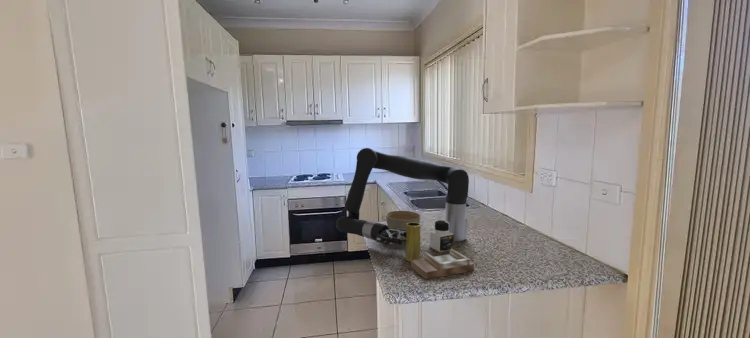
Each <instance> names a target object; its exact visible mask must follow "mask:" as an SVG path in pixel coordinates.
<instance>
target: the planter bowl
mask: <svg viewBox="0 0 750 338" xmlns="http://www.w3.org/2000/svg"><path fill="white" fill-rule="evenodd" d="M385 218H386V219H385V220H386V225H387V226H388V228H389V229H394V230H395V228H401V229H406V230H407V223H410V222H415V223H419V224H420V223H421V221H420V220H421V214H419V213H417V212H415V211H411V210H392V211H389V212H386V213H385ZM397 236H399V235H398V234H397ZM400 239H401V240H402V241H406V238H404V237H401V238H400Z"/></svg>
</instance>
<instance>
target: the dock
mask: <svg viewBox="0 0 750 338" xmlns="http://www.w3.org/2000/svg"><path fill="white" fill-rule="evenodd" d="M410 267H411V268H412V269H413V270H414V271H415V272H416V273H418V274H419V275H420V276H421V277H423V278H424V279H425V280H428V279H434V278H435V279H436V278H440V277H445V276H450V275H456V274H461V273H467V272H471V271H472V272H473V271H475V270H474V269H475V263H473V262H472V261H471V259H470V258H468V257H467V256H465V255H464V254H462V253H460V252H459V251H457V250H455V249H454V248H453V249H450V251H449V253H448V254H443V255H441V254H440V255H437V256H434V255H431V254H430V253H428V252H424V257H422V258H420V259H416V260H411V262H410Z"/></svg>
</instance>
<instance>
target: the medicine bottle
mask: <svg viewBox="0 0 750 338" xmlns="http://www.w3.org/2000/svg"><path fill="white" fill-rule="evenodd" d="M429 235H430V237H429V248H430V249H432V250H434V251H436V252H438V253H444V252H450V249H454V241H453V236H454V234H453V233H450V232H449V222H447V221H445V219H444V220H436V221H434V230H431V231H430V233H429Z"/></svg>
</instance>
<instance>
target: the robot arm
mask: <svg viewBox="0 0 750 338" xmlns="http://www.w3.org/2000/svg"><path fill="white" fill-rule="evenodd" d="M373 169H377V170H383V171H387V172H390V173H393V174H395V175H399V176H402V177H405V178H409V179H415V180H430V181H431V180H432V181H437V182H440V183H444V184H447V192H446V193H447V194H446V196H445V213H444V214H445V216H444V221H447V222H449V232H450V233H453V234H454V236H453V242H463V241H465V240H467V235H468V234H467V233H468V219H467V218H466V217H467V215H466V214H467V199H468V195H469V183H470V179H469V174H468V172H467V171H466V170H464V169H462V168H461V167H459V166H458V167H457V166H447V165H440V164H435V163H433V162H431V161H426V160H422V159H420V158H416V157H411V156H404V155H395V154H394V155H391V154H387V153H383V152H380V151H377V150H374V149H372V148H370V147H363V148H361V149H360V150H358V152H357V154H356V165H355V172H354V175H353V179H352V182H351V186H350V188H349V190H348V194H347V197H346V200H345V203H344V210H345V211H346V212H347V213H348V215H347V216H345V215H343V216H340V217H338V218H337V220H336V222H335V227H336V229H337V230H338V231H339V232H340V233H344V234H345V233H346V234H351V235H352V234H353V235H357V236H359V237H363V238H366V239H368V240H371V241H375V242H377V243H381V244H384V245H391V244H395V245H399V246H401V245H402V244H403V242H402V241H403V240H401V239H400V238H401V237H404V238H406V232H407V230H406V229H401V228H395V230H394V229H389V228H388V226H387V224H384V223H380V222H376V221H371V220H370V221H369V220H365V219H360V209H361V206H362V202H363V200H364V195H365V192H366V187H367V184H368V180H369V177H370V175H371V172H372V170H373ZM397 234H398V235H399V236H397Z"/></svg>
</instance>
